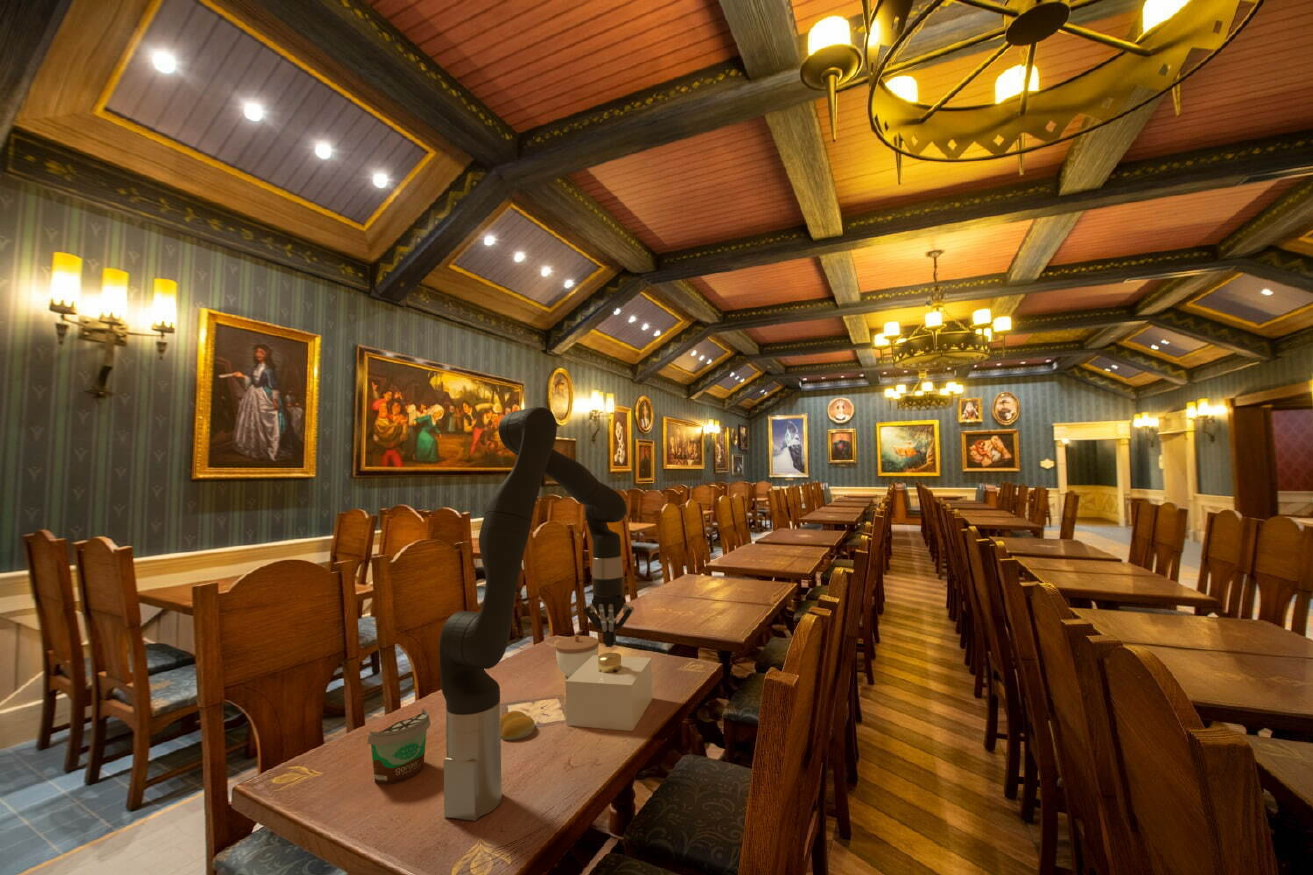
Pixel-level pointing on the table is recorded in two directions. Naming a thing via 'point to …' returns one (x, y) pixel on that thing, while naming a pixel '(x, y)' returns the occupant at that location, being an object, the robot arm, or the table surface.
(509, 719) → the bread roll
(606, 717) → the pin block
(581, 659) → the lidded bowl
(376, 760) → the food container
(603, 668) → the brass-head pin
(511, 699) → the table surface
